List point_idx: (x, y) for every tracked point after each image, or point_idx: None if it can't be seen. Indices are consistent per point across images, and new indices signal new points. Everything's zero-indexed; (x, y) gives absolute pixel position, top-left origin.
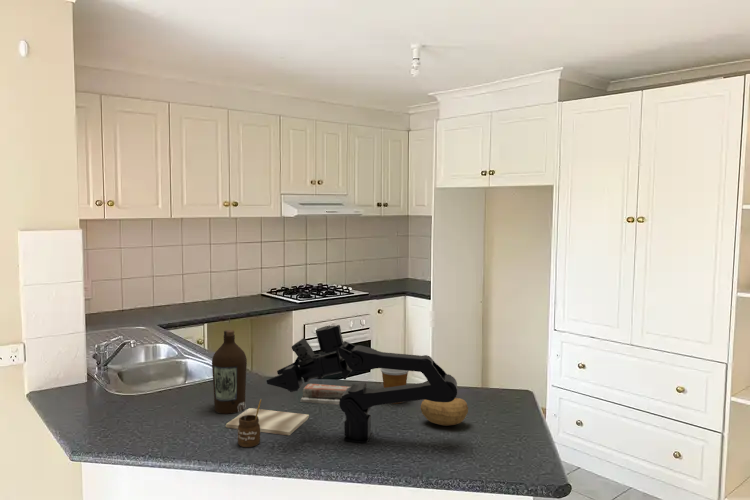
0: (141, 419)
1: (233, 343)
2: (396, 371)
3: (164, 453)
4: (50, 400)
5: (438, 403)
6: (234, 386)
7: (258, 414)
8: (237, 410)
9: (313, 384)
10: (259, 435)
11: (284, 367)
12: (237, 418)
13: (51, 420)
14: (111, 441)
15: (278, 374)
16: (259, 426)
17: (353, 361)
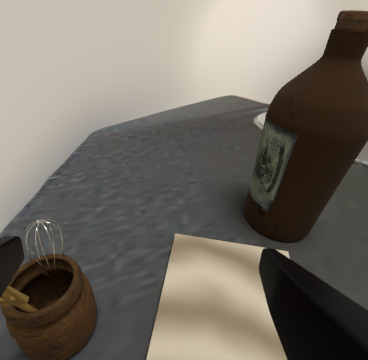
0: (188, 146)
1: (343, 62)
2: None
3: (56, 190)
4: (216, 101)
5: None
6: (273, 182)
7: (258, 286)
8: (264, 232)
9: None
10: (38, 355)
11: (307, 286)
12: (214, 245)
13: (171, 109)
14: (115, 143)
15: (260, 273)
16: (36, 340)
17: None
